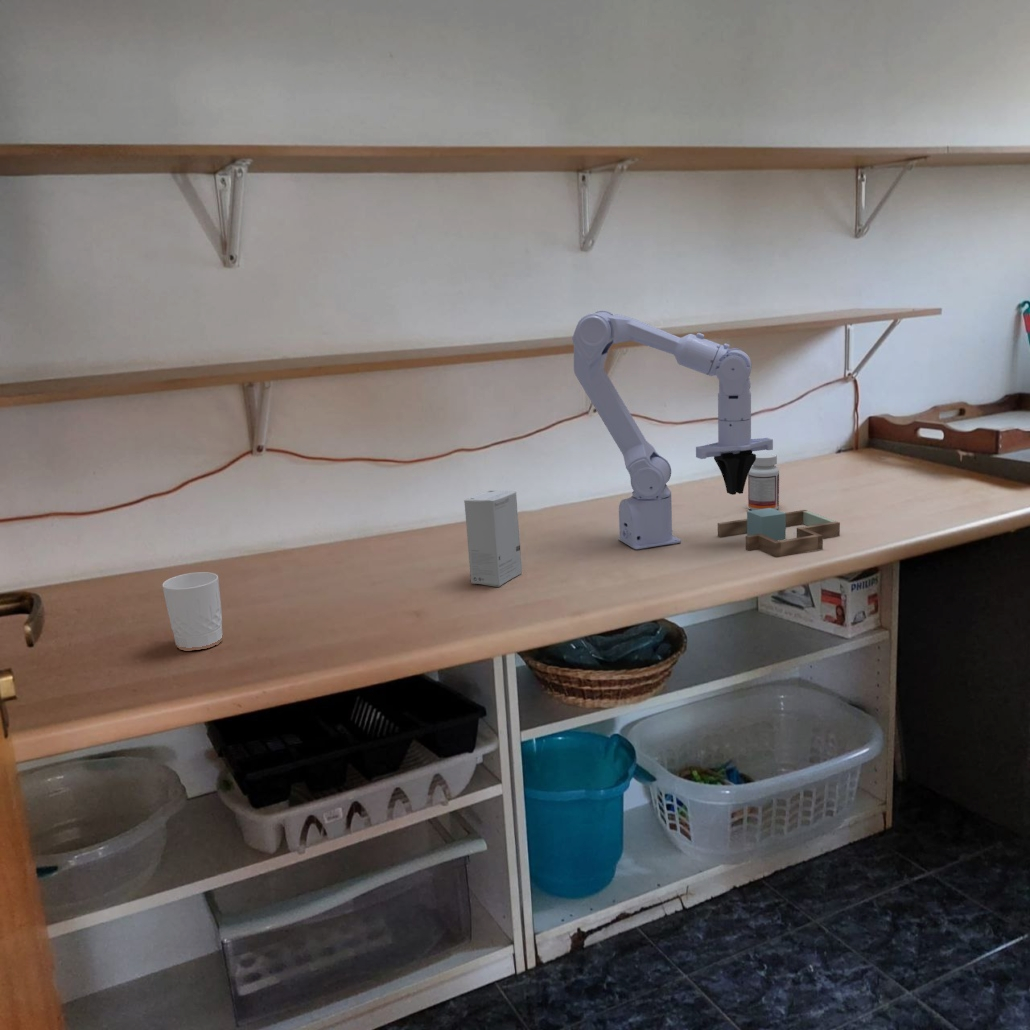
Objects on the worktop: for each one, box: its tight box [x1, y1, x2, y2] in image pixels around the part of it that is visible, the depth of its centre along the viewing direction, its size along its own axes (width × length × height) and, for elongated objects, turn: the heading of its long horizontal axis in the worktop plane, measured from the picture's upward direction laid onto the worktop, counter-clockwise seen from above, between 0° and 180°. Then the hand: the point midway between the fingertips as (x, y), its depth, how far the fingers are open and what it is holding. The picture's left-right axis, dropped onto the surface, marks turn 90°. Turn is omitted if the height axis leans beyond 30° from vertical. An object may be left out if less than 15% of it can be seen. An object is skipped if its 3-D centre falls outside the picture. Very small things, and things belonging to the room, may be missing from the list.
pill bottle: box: [747, 452, 780, 511], centre depth 199 cm, size 6×6×11 cm
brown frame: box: [717, 509, 841, 558], centre depth 178 cm, size 19×16×2 cm
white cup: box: [161, 571, 224, 648], centre depth 144 cm, size 8×8×10 cm
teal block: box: [746, 508, 787, 541], centre depth 179 cm, size 5×5×5 cm
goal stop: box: [802, 510, 836, 526], centre depth 183 cm, size 1×9×2 cm, turn 18°
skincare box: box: [463, 490, 523, 588], centre depth 165 cm, size 8×6×15 cm
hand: (734, 493), depth 176 cm, fingers closed
